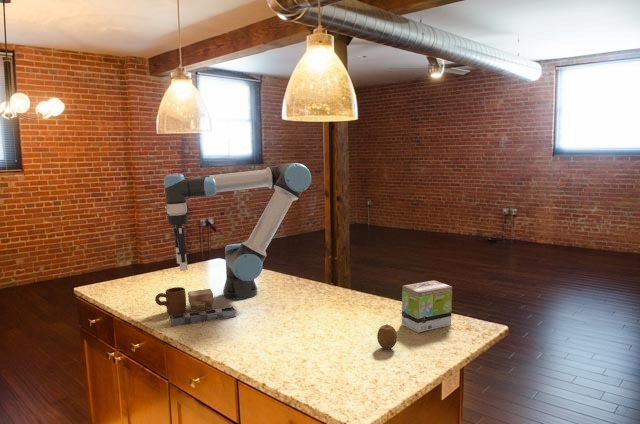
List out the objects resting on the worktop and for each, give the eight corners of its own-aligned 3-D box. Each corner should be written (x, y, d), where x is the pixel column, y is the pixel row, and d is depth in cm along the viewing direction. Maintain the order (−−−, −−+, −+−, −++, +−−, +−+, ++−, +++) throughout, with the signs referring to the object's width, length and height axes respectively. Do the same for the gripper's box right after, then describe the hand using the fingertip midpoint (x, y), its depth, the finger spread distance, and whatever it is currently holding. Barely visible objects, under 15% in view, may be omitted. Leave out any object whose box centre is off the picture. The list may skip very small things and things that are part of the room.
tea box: (419, 334, 161) (419, 292, 159) (401, 324, 170) (400, 285, 168) (452, 325, 168) (452, 285, 166) (433, 317, 177) (433, 279, 175)
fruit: (383, 354, 145) (383, 329, 144) (373, 347, 151) (373, 323, 150) (400, 350, 148) (400, 326, 147) (390, 343, 153) (390, 319, 152)
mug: (159, 319, 181) (158, 295, 180) (153, 314, 187) (151, 291, 186) (189, 312, 188) (188, 289, 187) (182, 308, 194) (181, 285, 193)
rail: (233, 312, 187) (232, 306, 186) (235, 316, 182) (235, 310, 182) (169, 322, 178) (169, 315, 178) (170, 326, 173) (170, 319, 173)
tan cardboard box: (211, 305, 197) (210, 288, 196) (213, 310, 191) (212, 293, 190) (188, 308, 194) (187, 291, 193) (190, 313, 188) (189, 296, 187)
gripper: (165, 211, 195) (170, 261, 198) (169, 218, 172) (175, 275, 175) (183, 209, 198) (188, 259, 201) (190, 216, 175) (195, 272, 178)
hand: (182, 266), depth 188 cm, fingers open, 13 cm apart
